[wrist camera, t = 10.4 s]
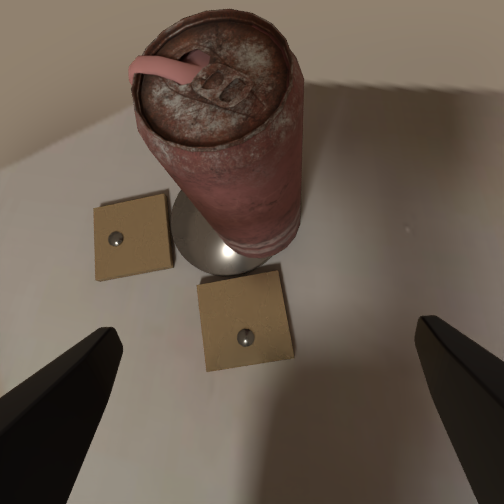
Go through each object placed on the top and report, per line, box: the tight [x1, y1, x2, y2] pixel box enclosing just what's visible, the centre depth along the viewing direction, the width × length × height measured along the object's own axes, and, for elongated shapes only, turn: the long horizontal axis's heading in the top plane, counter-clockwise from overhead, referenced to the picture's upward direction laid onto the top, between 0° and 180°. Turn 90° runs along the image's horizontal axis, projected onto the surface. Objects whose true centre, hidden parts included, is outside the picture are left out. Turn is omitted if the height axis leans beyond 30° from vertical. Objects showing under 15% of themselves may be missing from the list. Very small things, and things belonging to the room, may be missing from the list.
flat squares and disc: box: [93, 190, 294, 372], centre depth 24 cm, size 15×15×1 cm
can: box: [129, 9, 304, 258], centre depth 17 cm, size 6×6×14 cm
